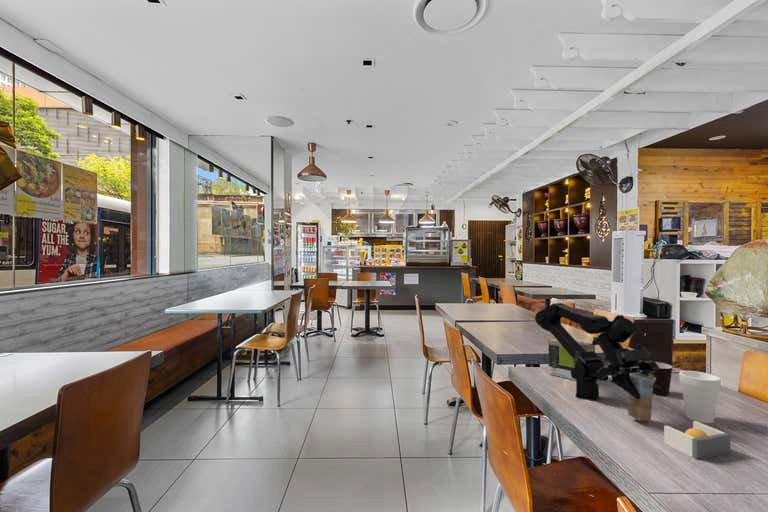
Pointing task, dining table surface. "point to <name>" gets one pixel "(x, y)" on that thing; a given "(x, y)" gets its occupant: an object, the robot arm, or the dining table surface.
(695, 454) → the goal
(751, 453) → the dining table surface
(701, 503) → the dining table surface
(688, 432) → the ball
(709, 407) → the foam cup
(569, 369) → the tea box
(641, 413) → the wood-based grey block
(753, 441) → the dining table surface
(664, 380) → the coffee mug
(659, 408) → the dining table surface
